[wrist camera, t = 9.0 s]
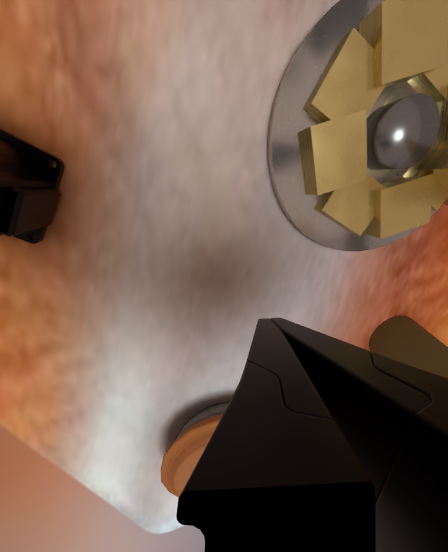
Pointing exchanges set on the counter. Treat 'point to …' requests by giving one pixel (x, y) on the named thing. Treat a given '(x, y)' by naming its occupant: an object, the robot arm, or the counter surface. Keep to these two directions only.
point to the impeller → (379, 122)
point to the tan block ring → (356, 105)
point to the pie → (189, 448)
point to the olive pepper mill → (410, 345)
